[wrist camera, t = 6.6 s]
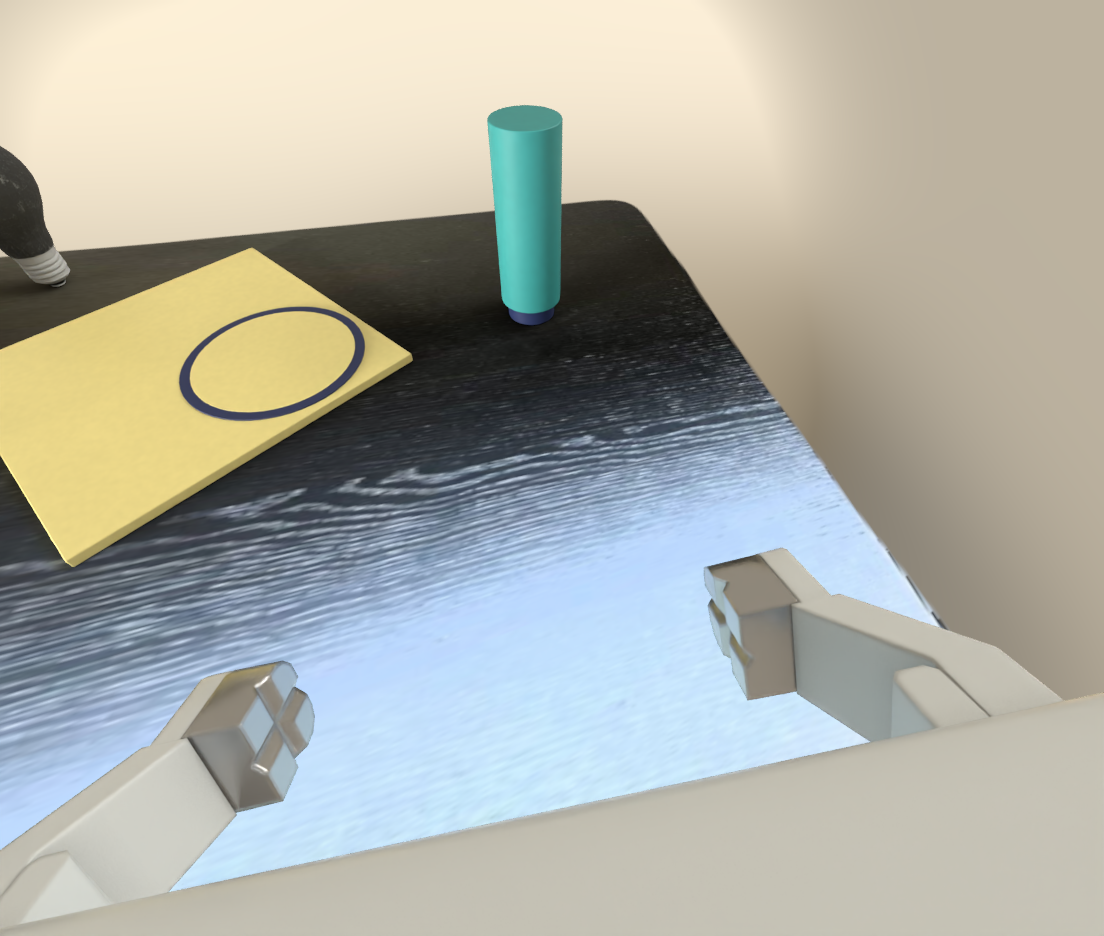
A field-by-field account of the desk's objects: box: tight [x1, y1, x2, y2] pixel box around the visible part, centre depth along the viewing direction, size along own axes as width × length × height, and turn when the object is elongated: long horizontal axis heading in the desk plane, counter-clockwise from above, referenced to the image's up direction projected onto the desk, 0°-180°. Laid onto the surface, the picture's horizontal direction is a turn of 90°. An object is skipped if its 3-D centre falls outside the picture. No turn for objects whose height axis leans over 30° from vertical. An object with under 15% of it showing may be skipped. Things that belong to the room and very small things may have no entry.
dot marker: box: [488, 105, 562, 325], centre depth 33 cm, size 4×4×12 cm
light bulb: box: [0, 146, 70, 287], centre depth 36 cm, size 6×6×10 cm
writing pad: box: [0, 248, 413, 567], centre depth 33 cm, size 20×20×1 cm
